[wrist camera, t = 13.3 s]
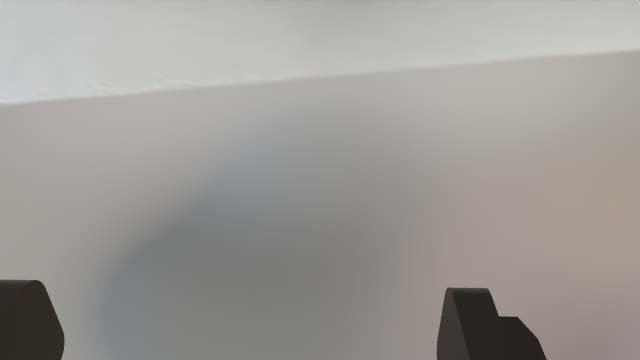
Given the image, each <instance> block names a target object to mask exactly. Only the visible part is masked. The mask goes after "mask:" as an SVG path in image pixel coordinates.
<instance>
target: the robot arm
mask: <svg viewBox="0 0 640 360" xmlns="http://www.w3.org/2000/svg"><path fill="white" fill-rule="evenodd" d="M63 350H64V333H63V330H62V327H61V325H60V322H59V320H58V318H57V315H56V313H55V310H54V308H53V306H52V303H51V301H50V298H49V296H48V293H47V291H46V288H45V286H44V285H43V283H41V282H40V281H38V280H0V360H61V358H62V355H63ZM437 360H547V359H546V357H545V355H544V352H543V350H542V348H541V345H540V343H539V341H538V339H537V338H536V336H535V335H534V334H533V333H532V332H531V331H530V330H529V329H528V328H527V327H526V326H525V325H524V323H523V322H522V321H521V320H520V319H519V318H518V317H499V316H498V313H497V310H496V307H495V304H494V301H493V299H492V296H491V294H490V292H489V290H488V289H487V288H447V290H446V293H445V298H444V304H443V310H442V316H441V322H440V328H439V334H438V340H437Z"/></svg>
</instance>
